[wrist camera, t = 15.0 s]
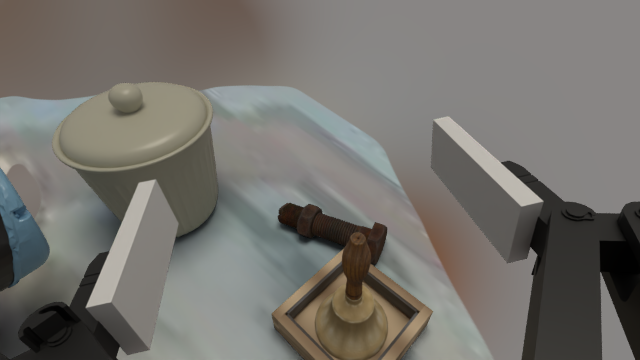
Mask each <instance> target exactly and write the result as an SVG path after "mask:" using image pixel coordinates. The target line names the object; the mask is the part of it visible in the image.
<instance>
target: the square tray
mask: <svg viewBox="0 0 640 360" xmlns="http://www.w3.org/2000/svg"><path fill="white" fill-rule="evenodd" d="M343 250H344V249H343ZM343 250H342V251H340V252H339V253H338V254H337V255H336V256H335V257H334V258H333V259H332V260H331V261H329V262H328V263H327V264H326V265H325V266H324V267H323V268H322V269H321V270H319V271H318V272H317V273H316V274H315V275H314V276H313V277H312V278H311V279H309V280H308V281H307V282H306V283H305V284H304V285H303V286H302V287H301V288H299V289H298V290H297V291H296V292H295V293H294V294H293V295H292V296H291V297H290V298H288V299H287V300H286V301H285V302H284V303H283V304H282V305H281V306H280V307H278V308H277V309H276V310H275V311H274V312H273V313H272V319H273V323H274V327H275V329H276V330H277V331H278V332H279V333H280V334H281V335H282V336H283V337H284V338H285V339H286V340H287V341H288V342H289V344H290V345H291V346H292V347H293V348H294V349H295V350H296V351H297V352H298V353H299V354H300V355H301V356H302V357H303V358H304V359H305V360H341V359H338V358H336V357H334V356H333V355H331V354H330V353H329V352H327V351H326V350H325V349H324V347H323V346H322V345H321V343H320V342H319V340H318V337H317V334H316V331H315V317H316V313H317V310H318V308H319V306H320V304H321V303H322V302H323V301H324V300H325V299H326V298H327V297H328V296H329V295H331V294H333V293H335V291H336V290H337V289H338V288H339V287H340V286H342V285H344V284H346V282H347V278H346V276H345V274H344V272H343V267H342V254H343ZM362 285H363V286H364V287H366V288H367V289H368V290H369V291H370V292H371V294H372V296H373V298H374V299H376V300H377V301H378V303H379V304H380V305H381V306H382V308H383V310H384V312H385V314H386V317H387V321H388V334H387V338H386V341H385V343H384V345H383V347H382V348H381V349H380V350H379V352H378V353H376V354H375V355H374V356H372V357H370V358H368V359H366V360H400V359H401V358H402V357H403V355H404V354H405V353H406V352H407V350H408V349H409V348H410V346H411V345H412V344H413V342H414V341H415V340H416V339H417V337H418V336H419V335H420V333H421V332H422V331H423V329H424V328H425V327H426V326H427V323H428V321H429V319H430V317H431V315H432V313H433V311H432V310H431V309H429V308H428V307H427V306H425V305H424V304H423V303H421V302H420V301H419V300H418V299H416V298H415V297H414V296H412V295H411V294H410V293H408V292H407V291H406V290H404V289H403V288H402V287H400V286H399V285H398V284H397V283H395V282H394V281H393V280H391V279H390V278H389V277H387V276H386V275H385V274H383V273H382V272H381V271H379V270H378V269H377V268H376V267H374V266H373V265H372V264H370V268H369V271H368V274H367V276H366V277H365V278H364V280H363V283H362Z"/></svg>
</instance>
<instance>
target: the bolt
mask: <svg viewBox="0 0 640 360" xmlns="http://www.w3.org/2000/svg"><path fill="white" fill-rule="evenodd" d="M278 220H279V222H280V223H282V224H286V225H288V226H290V227H294V228H296V229H297V232H298V234H300V235H302V236H305V237H308V238H312V237H314V236H315V235H316V236H318V237H319V236H320V237H322V238H324V239H327V240H329V241H330V240H331V241H333V242H335V243H338V244H341V245H344V246H346V244H347V243H348V241H349V240H350V237H351V235H352V234H353V233H357V232H359V233H362V234H363V235H364V236H365V238H366V242H367V244H368V246H369V249H370V253H371V264H374V265H375V264H376V263H377V262H378V260H379V257H380V255H381V253H382V250H383V247H384V243H385V240H386V235H387V227H386V226H384V225H382V224H379V223H376V222H375V224H374V226H373V228H372V229H370V228H367V227H364V226H357V225H354V224H352V223H348V222H345V221H343V220H340V219H336V218H334V217H330V216H327V215H325V214H322V210H321V209H320V208H319V207H317V206H314V205H311V204H308V205H307V206H305V207H300V206H298V205H295V204H292V203H286V204H285V205H283V206H282V207H281V208H280V209H279V215H278Z"/></svg>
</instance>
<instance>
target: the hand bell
mask: <svg viewBox="0 0 640 360" xmlns="http://www.w3.org/2000/svg"><path fill="white" fill-rule="evenodd" d="M370 264H371V253H370V249H369V246H368V244H367V242H366V238H365V236H364V235H363V234H362V233H359V232H357V233H353V234H352V235H351V237H350V240H349V241H348V243H347V244H346V246H345V248H344V250H343V254H342V267H343V272H344V274H345V276H346V278H347V282H346V284H344V285H342V286H340V287H339V288H338V289H337V290H336V291H335V293H333V294H331V295H329V296H328V297H327V298H326V299H325V300H324V301H323V302H322V303H321V304H320V306H319V308H318V310H317V313H316V317H315V331H316V334H317V337H318V340H319V342H320V343H321V345H322V346H323V347H324V349H325V350H326V351H327V352H329V353H330V354H331V355H333V356H334V357H336V358H338V359H341V360H366V359H368V358H370V357H372V356H374V355H375V354H376V353H378V352H379V350H380V349H381V348H382V347H383V345H384V343H385V341H386V338H387V334H388V321H387V317H386V314H385V312H384V310H383V308H382V306H381V305H380V304H379V303H378V301H377V300H376V299H374V298H373V296H372V294H371V292H370V291H369V290H368V289H367V288H366V287H364V286H363V285H362V283H363V280H364V278H365V277H366V276H367V274H368V271H369V268H370Z"/></svg>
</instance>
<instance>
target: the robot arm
mask: <svg viewBox="0 0 640 360" xmlns="http://www.w3.org/2000/svg"><path fill="white" fill-rule="evenodd" d="M431 168H432V169H433V171H434V172H435V173H436V174H437V176H438V177H439V178H440V179H441V181H442V182H443V183H444V184H445V186H446V187H447V188H448V189H449V191H450V192H451V193H452V194H453V196H454V197H455V198H456V200H457V201H458V202H459V203H460V204H461V206H462V207H463V208H464V209H465V211H466V212H467V213H468V215H469V216H470V217H471V218H472V220H473V221H474V222H475V223H476V225H477V226H478V227H479V228H480V230H481V231H482V232H483V233H484V235H485V236H486V237H487V238H488V240H489V241H490V242H491V243H492V245H493V246H494V247H495V248H496V250H497V251H498V252H499V253H500V255H501V256H502V257H503V258H504V260H505V261H506V262H507V263H511V262H515V261H519V260H523V259H527V257H528V253H529V250H530V247H531V248H532V249H533V250H534V251H535V252H536V254H537V255H538V256H537V258H536V262H535V265H534V268H533V271H532V275H534V276H533V284H532V291H531V297H530V305H529V311H528V319H527V325H526V333H525V340H524V347H523V353H522V360H602V335H601V290H600V272H601V273H602V276H603V279H604V281H605V284H606V286H607V289H608V291H609V294H610V296H611V299H612V301H613V304H614V306H615V309H616V312H617V314H618V317H619V319H620V322H621V324H622V327H623V330H624V332H625V335H626V337H627V340H628V342H629V345H630V347H631V350H632V352H633V355H634V357H635V360H640V202H631V203H628V204H626V205H625V206H624V207H623V209H622V211H621V213H620V214H610V213H608V214H607V213H595V212H594V211H593V210H592V209H590V208H588V207H587V206H585V205H582V204H579V203H575V202H564V201H563V200H562V199H561V198H559V197H558V196H557V195H556V194H555V193H553V192H552V191H551V190H550V189H549V188H547V187H546V186H545V185H544V184H543V183H541V182H540V181H538V179H537V178H536V177H534V176H533V175H531V173H530V172H528V171H527V170H526V169H525V168H524V167H522V166H520V165H518V164H516V163H513V162H511V161H506V162H501V163H500V162H499V161H498V160H497V159H496V158H495V157H493V156H492V155H491V154H490V153H489V152H488V151H487V150H486V149H485V148H483V147H482V146H481V145H480V144H479V143H478V142H477V141H476V140H474V139H473V138H472V137H471V136H470V135H469V134H468V133H467V132H466V131H464V130H463V129H462V128H461V127H460V126H459V125H458V124H457V123H455V122H454V121H453V120H452V119H451V118H450V117H449V116H448V117H443V118H439V119H434V120H433V134H432V155H431ZM178 224H179V223H178V221H177V219H176V218H175V216H174V214H173V212H172V210H171V208H170V206H169V204H168V202H167V200H166V198H165V196H164V194H163V192H162V190H161V188H160V186H159V184H158V182H157V180H156V179H155V180H150V181H145V182H141V183H139V184H138V186H137V188H136V191H135V193H134V195H133V198H132V200H131V202H130V205H129V207H128V210H127V212H126V214H125V217H124V219H123V221H122V224H121V226H120V228H119V231H118V233H117V235H116V238H115V240H114V242H113V245H112V247H111V249H110V251H108V252H104V253H100V254H98V256H97V257H96V258H95V259H94V260H93V261H92V262H91V263H90V264H89V266H88V268H87V271H86V273H85V275H84V278H83V279H82V281H81V283H80V285H79V286H80V288H78V290H77V292H76V294H75V296H74V298H73V300H72V302H71V305H70V307H68V306H67V305H66V304H65V303H63V302H54V303H50V304H47V305H45V306H43V307H41V308H40V309H38V310H36V311H35V312H34V313H33V314H31V315H30V316H29V317H28V318H27V319H26V320H25V322H24V323H23V324H22V325H21V328H20V330H19V332H18V335H19V339H20V340H21V341H22V342H23V343H25V344H26V345H27V346H28V347H29V348H30V349H31V350H29V351H27V352H25V353H23V354H21V355H18V356H16V357H14V358H12V359H9V358H8V357H6V356H5V355H3V354H0V360H118V359H117V358H116V356H117V353H118V350H119V347H121V348H122V350H123V351H124V352H125V353H126V354H127V355H130V354H134V353H138V352H142V351H147V350H150V346H151V342H152V338H153V333H154V329H155V324H156V320H157V316H158V311H159V307H160V303H161V298H162V294H163V290H164V285H165V281H166V276H167V272H168V268H169V263H170V259H171V255H172V250H173V246H174V242H175V237H176V233H177V228H178ZM49 253H50V248H49V245H48V243H47V241H46V239H45V237H44V235H43V233H42V232H41V230H40V228H39V227H38V225H37V223H36V222H35V220H34V218H33V217H32V215H31V214H30V212H29V211H28V210H27V209H26V206H25V205H24V203H23V202H22V200H21V198H20V196H19V195H18V193H17V191H16V190H15V188H14V187H13V185H12V184H11V182H10V181H9V179H8V178H7V176H6V175H5V173H4V172H3V171H2V169H1V168H0V292H1V291H3V290H4V289H6V288H10V287H12V286H14V285H16V284H17V283H18V282H19V280H20V279H21V278H23V277H25V276H26V275H28V274H29V273H31V272H32V271H34V270H35V269H37V268H39V267H40V266H41V265H43V264H44V263H45V261H46V260H47V259H48V256H49Z"/></svg>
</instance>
